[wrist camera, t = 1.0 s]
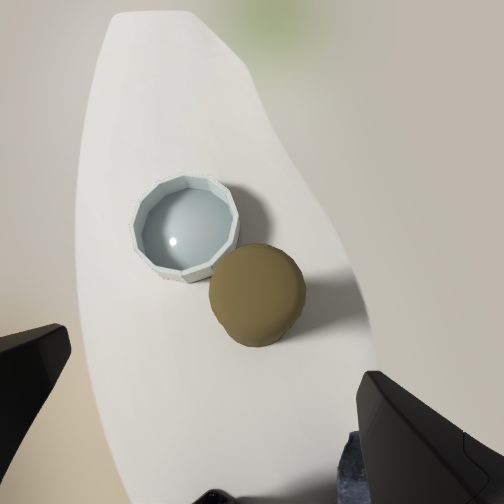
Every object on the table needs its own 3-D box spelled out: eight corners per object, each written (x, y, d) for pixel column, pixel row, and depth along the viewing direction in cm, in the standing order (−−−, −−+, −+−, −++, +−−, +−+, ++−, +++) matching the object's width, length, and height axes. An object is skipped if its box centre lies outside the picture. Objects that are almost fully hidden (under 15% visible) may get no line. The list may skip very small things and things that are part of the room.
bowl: (189, 303, 25) (182, 298, 22) (123, 238, 27) (111, 227, 24) (259, 226, 27) (260, 212, 24) (188, 172, 29) (183, 156, 26)
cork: (287, 274, 26) (310, 223, 15) (295, 343, 24) (326, 340, 13) (218, 280, 25) (194, 232, 15) (222, 349, 23) (198, 352, 13)
